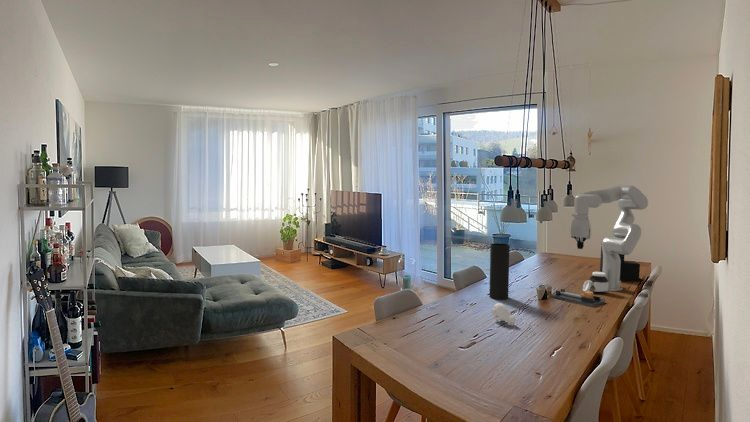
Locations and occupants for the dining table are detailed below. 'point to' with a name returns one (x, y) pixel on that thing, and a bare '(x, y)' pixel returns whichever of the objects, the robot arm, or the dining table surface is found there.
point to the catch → (587, 294)
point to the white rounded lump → (502, 314)
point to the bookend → (625, 268)
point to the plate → (578, 299)
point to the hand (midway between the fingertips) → (580, 248)
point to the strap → (570, 294)
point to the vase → (499, 271)
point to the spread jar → (596, 283)
